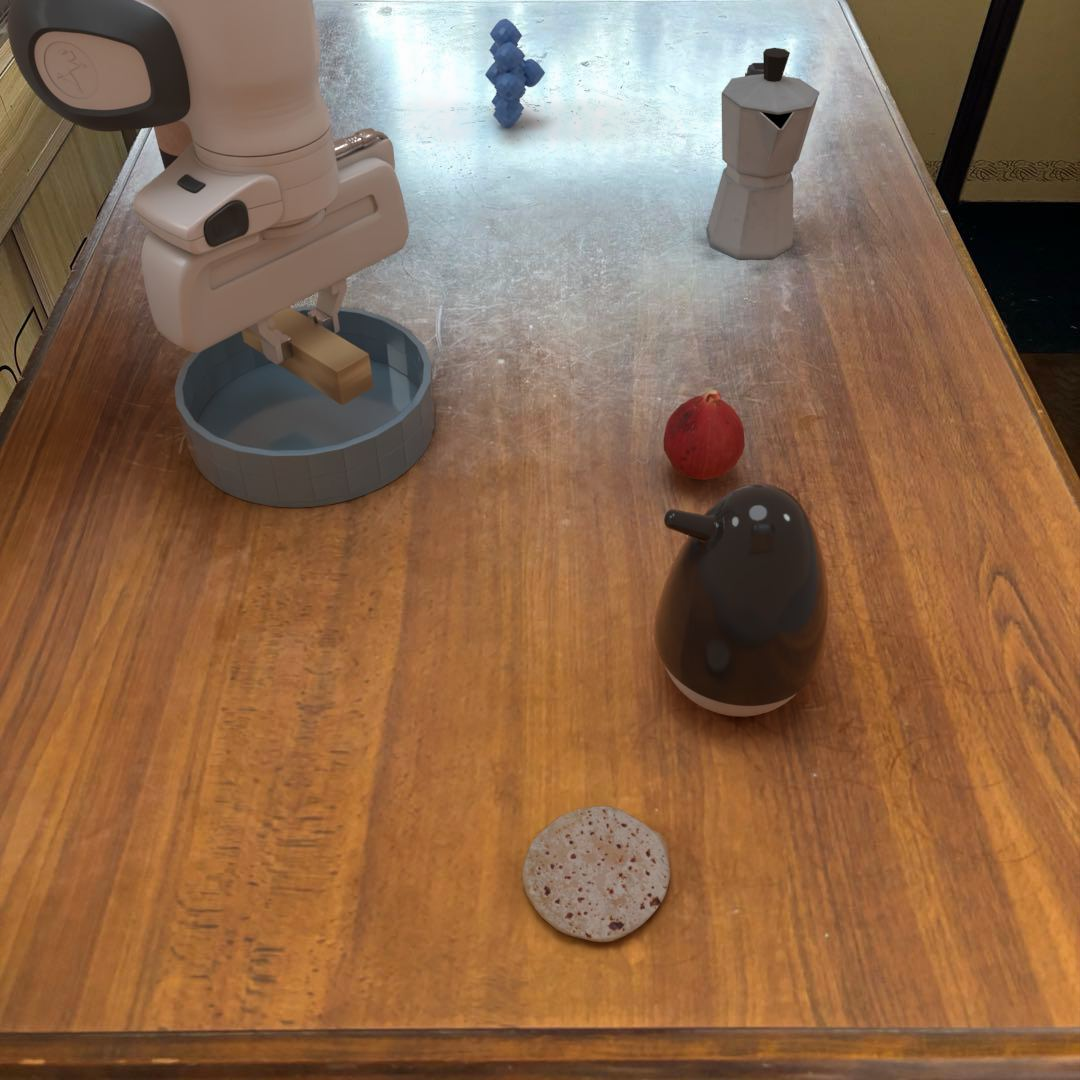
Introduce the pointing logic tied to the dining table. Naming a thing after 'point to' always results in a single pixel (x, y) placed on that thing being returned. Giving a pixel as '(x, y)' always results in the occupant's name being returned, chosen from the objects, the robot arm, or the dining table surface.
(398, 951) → the dining table surface
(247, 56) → the robot arm
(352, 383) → the gold bar
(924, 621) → the dining table surface
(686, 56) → the dining table surface
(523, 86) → the grapes
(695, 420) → the onion
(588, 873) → the flatbread
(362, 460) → the bowl
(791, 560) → the pump dispenser
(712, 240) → the coffee maker
